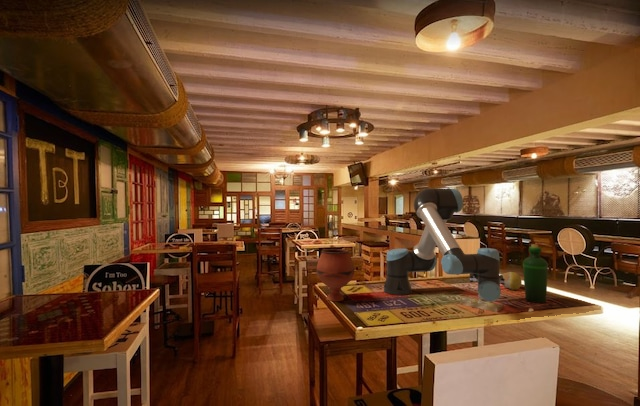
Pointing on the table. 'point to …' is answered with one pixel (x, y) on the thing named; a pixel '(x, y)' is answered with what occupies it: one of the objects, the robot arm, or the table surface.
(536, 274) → the bottle
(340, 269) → the goblet
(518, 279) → the fruit
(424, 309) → the table surface
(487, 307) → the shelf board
